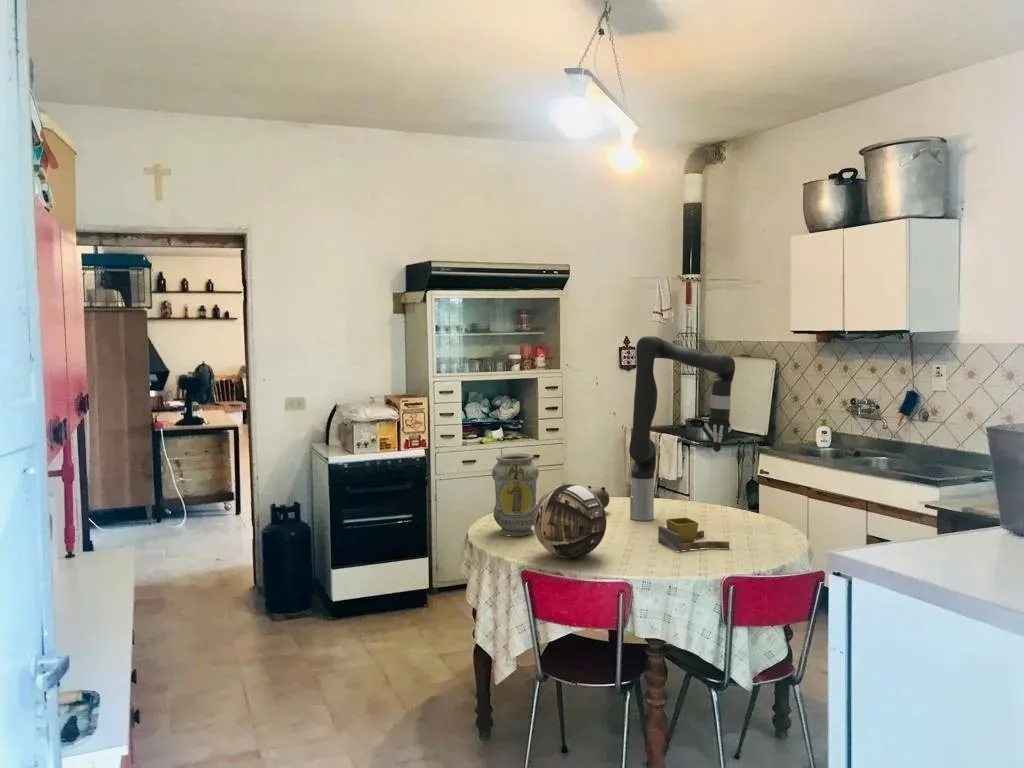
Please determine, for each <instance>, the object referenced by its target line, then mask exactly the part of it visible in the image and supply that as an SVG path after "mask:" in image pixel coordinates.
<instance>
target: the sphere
mask: <svg viewBox="0 0 1024 768" xmlns="http://www.w3.org/2000/svg"><path fill="white" fill-rule="evenodd" d="M536 504H537V506H536V509H535V512H534V519H533V523H534V525H533V529H534V530H533V531H534V534H535V535H536V537H537V539H538V541H539V543H540V545H542V547H543V548H544V549H545V550H547V551H548V552H549V553H551V554H552V555H554V556H557V557H558V558H559V557H560V558H564V559H577V558H581V557H585V556H586V555H588V554H590V553H591V552H592V551H594V550H595V549H596V548H597V547H598V546H599V545H600V543H601V542H602V541H603V538H604V537H605V533H606V530H607V521H608V520H607V515H606V510H605V508H604V507H603V505H602V503H601V501H600V500H599V499H598V497H597V496H596V495H595V494H594V493H592V492H591V491H590V490H589V488H586V487H584V486H582V485H579V484H567V483H566V484H561V485H557V486H556V487H553V488H551V489H550V490H548V491H547V492H545V494H543V495H542V497H541V498H540V499H539V500H538V502H537V503H536Z"/></svg>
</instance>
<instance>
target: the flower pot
mask: <svg viewBox="0 0 1024 768" xmlns="http://www.w3.org/2000/svg"><path fill="white" fill-rule="evenodd" d="M666 528H667V529H670V530H672V531H674V532H676V533H678V534H680V535H681V544H682V543H693V542H695V541H696V540H695V539H696V536H697V531H699V530H698V529H699V521H698V522H697V521H696V520H693V519H691V518H688V517H676V518H666Z"/></svg>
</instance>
